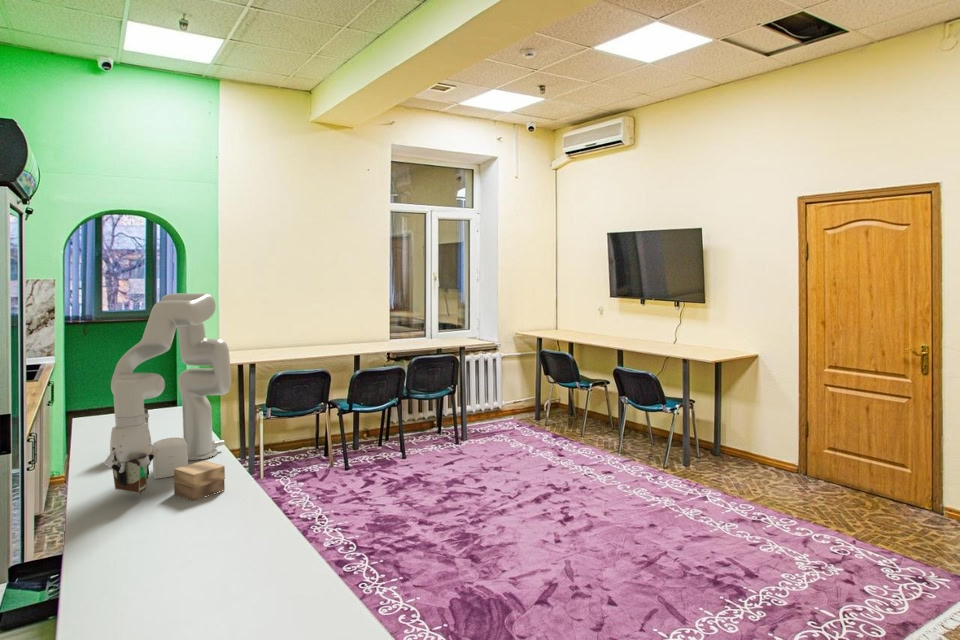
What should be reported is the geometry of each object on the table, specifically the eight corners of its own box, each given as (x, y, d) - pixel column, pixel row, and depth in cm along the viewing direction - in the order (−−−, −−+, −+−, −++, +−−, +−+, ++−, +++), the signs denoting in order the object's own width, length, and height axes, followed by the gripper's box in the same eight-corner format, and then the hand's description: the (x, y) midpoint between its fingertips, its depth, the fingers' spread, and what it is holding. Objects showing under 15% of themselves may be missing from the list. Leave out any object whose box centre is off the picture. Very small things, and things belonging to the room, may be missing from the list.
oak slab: (205, 473, 195) (204, 460, 194) (224, 478, 189) (224, 466, 189) (174, 482, 186) (174, 468, 186) (194, 488, 181) (193, 474, 180)
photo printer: (154, 480, 199) (152, 442, 198) (152, 476, 202) (151, 439, 201) (189, 474, 204) (188, 437, 204) (187, 471, 208) (186, 434, 207)
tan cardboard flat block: (205, 486, 195) (204, 473, 194) (224, 492, 189) (224, 479, 189) (174, 495, 186) (173, 482, 186) (193, 502, 181) (193, 488, 181)
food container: (160, 486, 184) (159, 453, 183) (143, 494, 179) (141, 460, 178) (129, 481, 189) (127, 449, 188) (111, 488, 183) (109, 455, 182)
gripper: (152, 412, 190) (155, 470, 192) (92, 425, 176) (96, 487, 178) (166, 416, 186) (169, 475, 188) (105, 429, 172) (109, 493, 174)
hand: (133, 480), depth 183 cm, fingers closed on food container, 5 cm apart
